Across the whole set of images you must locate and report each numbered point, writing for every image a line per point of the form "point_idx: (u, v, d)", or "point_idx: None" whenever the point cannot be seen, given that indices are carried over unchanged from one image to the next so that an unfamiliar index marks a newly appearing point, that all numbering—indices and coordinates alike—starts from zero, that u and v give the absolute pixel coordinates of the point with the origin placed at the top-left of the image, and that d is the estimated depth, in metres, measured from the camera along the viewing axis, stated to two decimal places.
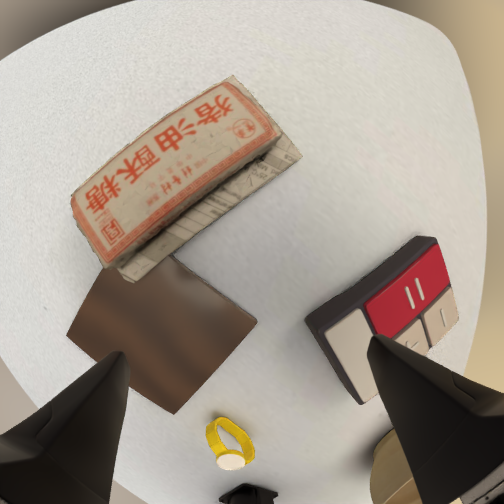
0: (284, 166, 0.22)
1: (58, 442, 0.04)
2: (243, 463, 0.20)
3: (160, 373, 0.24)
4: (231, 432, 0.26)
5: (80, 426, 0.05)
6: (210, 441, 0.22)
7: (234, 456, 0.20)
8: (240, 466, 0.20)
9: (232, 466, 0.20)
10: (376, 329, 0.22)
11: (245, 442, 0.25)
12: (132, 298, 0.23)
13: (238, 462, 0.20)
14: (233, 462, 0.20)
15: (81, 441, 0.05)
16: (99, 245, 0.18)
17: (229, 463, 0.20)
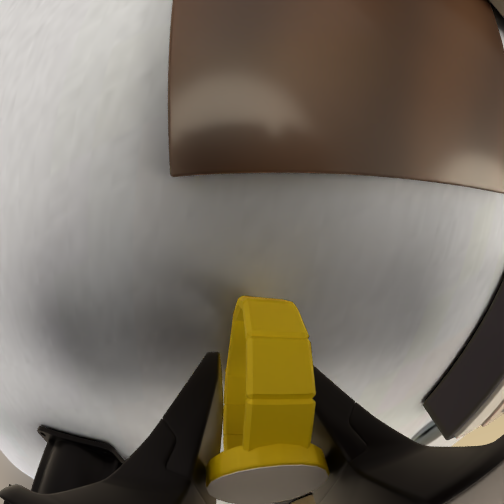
0: None
1: (197, 465, 0.04)
2: (290, 498, 0.05)
3: (313, 39, 0.06)
4: (235, 359, 0.10)
5: None
6: (269, 375, 0.05)
7: (312, 476, 0.04)
8: (266, 501, 0.05)
9: (248, 497, 0.05)
10: None
11: (244, 405, 0.09)
12: None
13: (286, 493, 0.05)
14: (274, 490, 0.04)
15: (207, 457, 0.05)
16: None
17: (258, 489, 0.04)
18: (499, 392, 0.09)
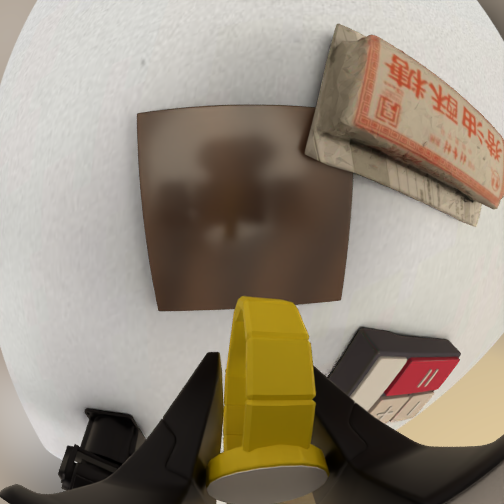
0: (467, 220, 0.18)
1: (197, 465, 0.04)
2: (290, 498, 0.05)
3: (204, 260, 0.19)
4: (235, 359, 0.10)
5: None
6: (268, 376, 0.05)
7: (311, 477, 0.04)
8: (266, 502, 0.05)
9: (248, 498, 0.05)
10: (395, 382, 0.21)
11: (244, 406, 0.09)
12: (277, 165, 0.17)
13: (286, 494, 0.05)
14: (274, 491, 0.04)
15: (207, 457, 0.05)
16: (365, 101, 0.11)
17: (258, 490, 0.04)
18: None
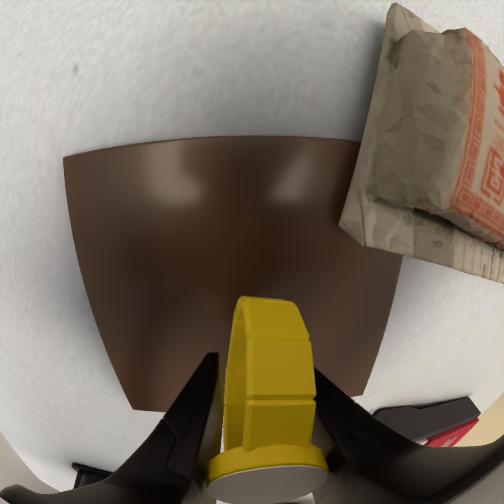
0: None
1: (197, 465, 0.04)
2: (290, 498, 0.05)
3: (183, 367, 0.12)
4: (235, 359, 0.10)
5: None
6: (269, 376, 0.05)
7: (312, 477, 0.04)
8: (266, 502, 0.05)
9: (248, 497, 0.05)
10: None
11: (244, 406, 0.09)
12: (292, 242, 0.10)
13: (286, 494, 0.05)
14: (274, 491, 0.04)
15: (207, 457, 0.05)
16: (471, 159, 0.05)
17: (258, 490, 0.04)
18: None
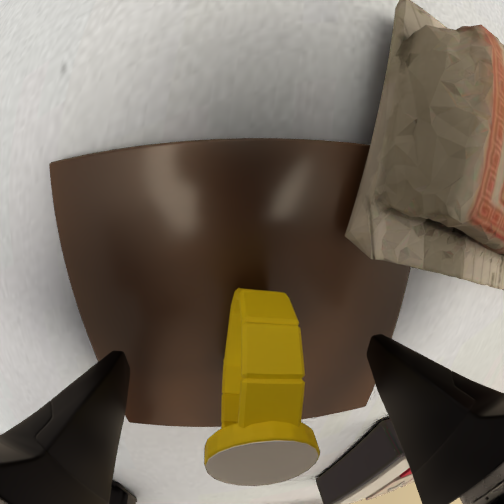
0: None
1: (58, 442, 0.04)
2: (284, 479, 0.05)
3: (180, 382, 0.11)
4: (232, 349, 0.10)
5: (79, 426, 0.05)
6: (261, 356, 0.06)
7: (303, 455, 0.05)
8: (261, 482, 0.05)
9: (243, 476, 0.05)
10: None
11: None
12: (295, 254, 0.10)
13: (279, 473, 0.05)
14: (268, 469, 0.05)
15: (81, 441, 0.05)
16: (491, 168, 0.04)
17: (253, 468, 0.05)
18: (357, 493, 0.14)
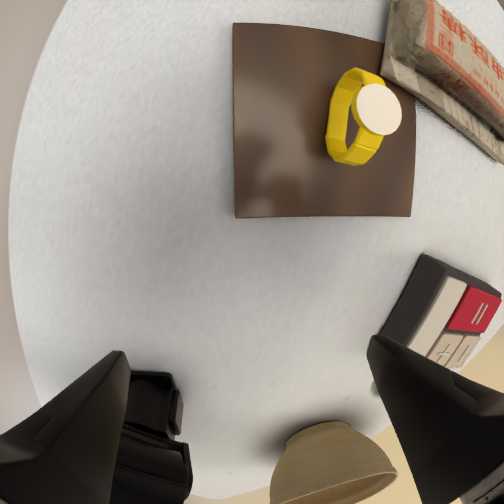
0: (500, 157, 0.17)
1: (58, 442, 0.04)
2: (390, 130, 0.12)
3: (293, 159, 0.18)
4: (332, 125, 0.16)
5: (79, 425, 0.05)
6: (366, 71, 0.12)
7: (395, 106, 0.11)
8: (380, 130, 0.12)
9: (372, 117, 0.11)
10: (456, 311, 0.20)
11: (340, 151, 0.16)
12: None
13: (388, 120, 0.11)
14: (382, 113, 0.11)
15: (81, 441, 0.05)
16: (430, 33, 0.10)
17: (376, 108, 0.11)
18: (416, 337, 0.20)
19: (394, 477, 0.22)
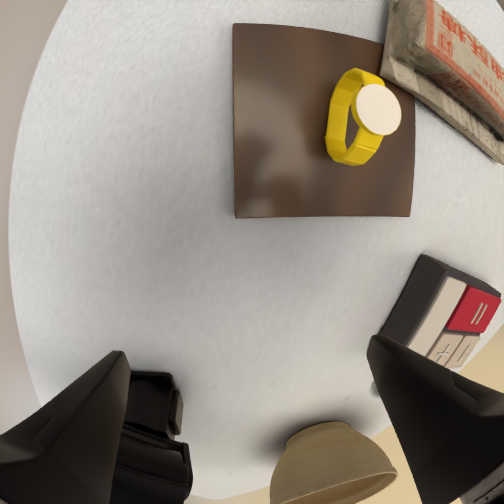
0: (500, 158, 0.17)
1: (58, 442, 0.04)
2: (390, 130, 0.12)
3: (293, 159, 0.18)
4: (331, 126, 0.16)
5: (79, 425, 0.05)
6: (365, 72, 0.12)
7: (394, 107, 0.11)
8: (380, 130, 0.12)
9: (372, 117, 0.11)
10: (456, 311, 0.20)
11: (340, 151, 0.16)
12: None
13: (387, 120, 0.11)
14: (382, 113, 0.11)
15: (81, 441, 0.05)
16: (430, 34, 0.10)
17: (376, 108, 0.11)
18: (416, 337, 0.20)
19: (394, 477, 0.22)
